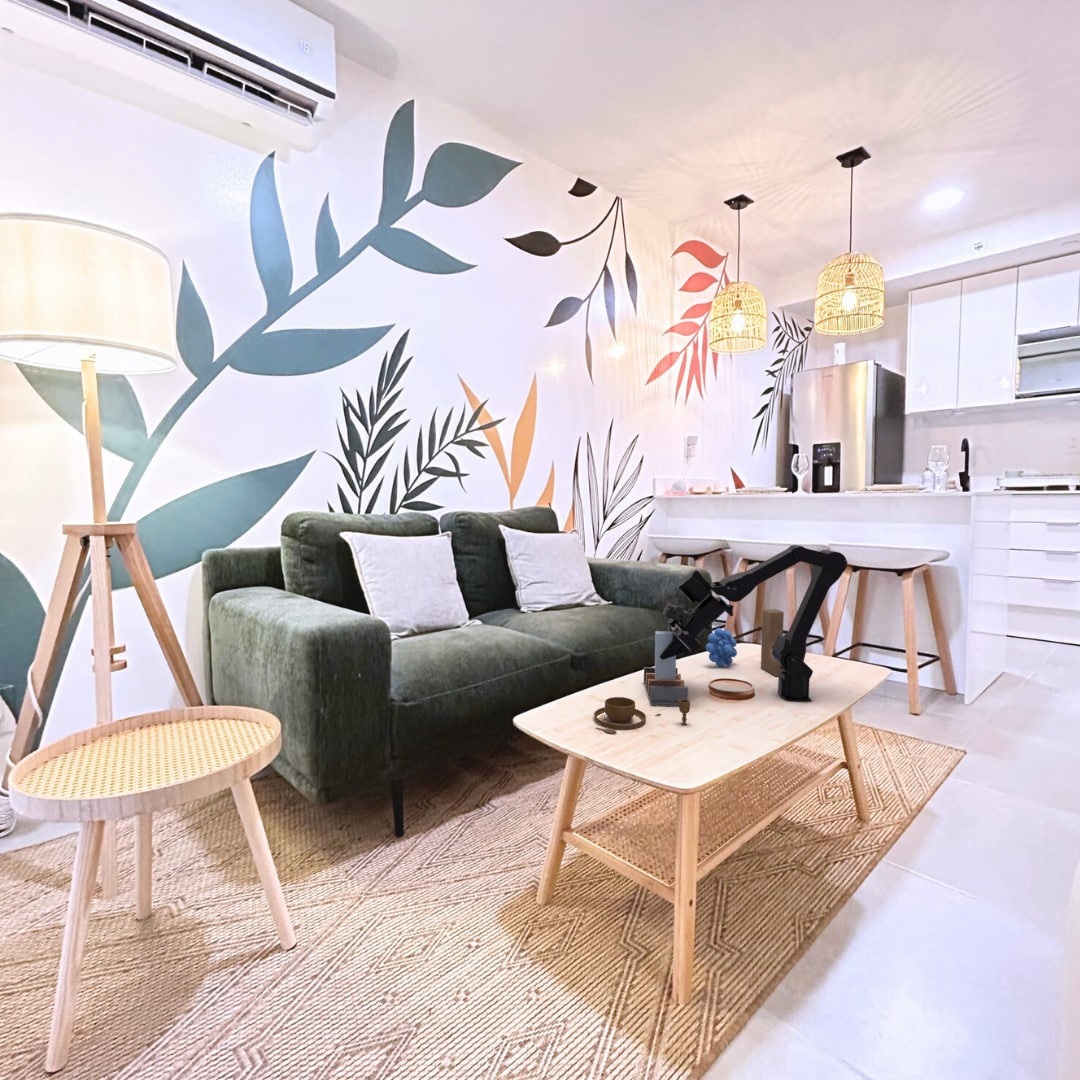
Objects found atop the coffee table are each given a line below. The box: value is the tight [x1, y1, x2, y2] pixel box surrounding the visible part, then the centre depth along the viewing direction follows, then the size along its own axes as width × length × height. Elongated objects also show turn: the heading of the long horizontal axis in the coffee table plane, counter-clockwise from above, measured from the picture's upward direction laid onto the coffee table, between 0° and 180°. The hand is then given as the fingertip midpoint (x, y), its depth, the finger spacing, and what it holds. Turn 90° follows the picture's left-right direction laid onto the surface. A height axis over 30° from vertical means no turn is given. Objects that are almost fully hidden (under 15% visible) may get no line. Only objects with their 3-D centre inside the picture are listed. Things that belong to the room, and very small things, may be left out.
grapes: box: [705, 627, 738, 668], centre depth 182 cm, size 12×7×12 cm, turn 115°
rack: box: [642, 666, 689, 708], centre depth 158 cm, size 9×19×4 cm, turn 176°
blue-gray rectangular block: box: [654, 630, 677, 680], centre depth 157 cm, size 5×3×13 cm, turn 85°
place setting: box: [593, 696, 691, 735], centre depth 137 cm, size 18×20×6 cm
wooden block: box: [760, 608, 785, 678], centre depth 176 cm, size 9×4×18 cm, turn 8°
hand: (660, 656), depth 157 cm, fingers closed on blue-gray rectangular block, 3 cm apart
